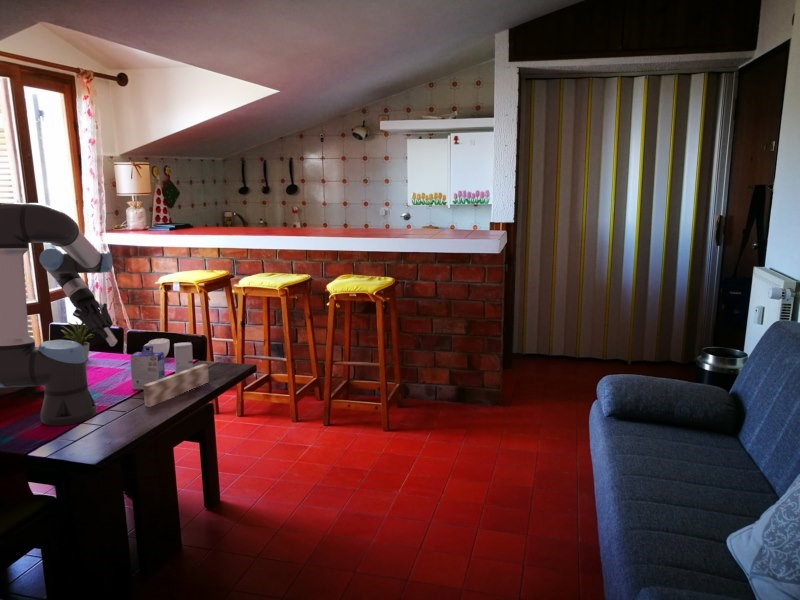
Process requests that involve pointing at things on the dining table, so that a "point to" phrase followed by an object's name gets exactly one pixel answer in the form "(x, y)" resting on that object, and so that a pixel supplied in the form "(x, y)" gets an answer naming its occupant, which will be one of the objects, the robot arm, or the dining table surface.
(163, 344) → the cup
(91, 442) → the dining table surface
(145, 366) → the ink cartridge box
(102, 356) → the dining table surface
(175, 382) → the board
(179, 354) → the skincare box
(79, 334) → the house plant
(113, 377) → the dining table surface
